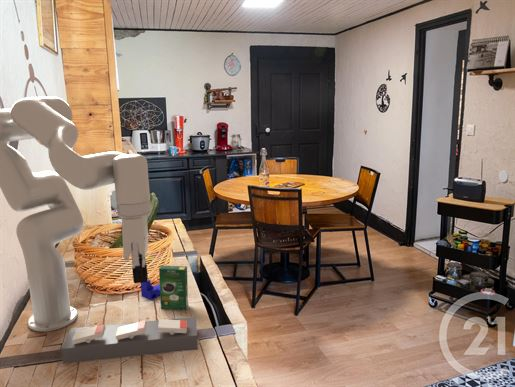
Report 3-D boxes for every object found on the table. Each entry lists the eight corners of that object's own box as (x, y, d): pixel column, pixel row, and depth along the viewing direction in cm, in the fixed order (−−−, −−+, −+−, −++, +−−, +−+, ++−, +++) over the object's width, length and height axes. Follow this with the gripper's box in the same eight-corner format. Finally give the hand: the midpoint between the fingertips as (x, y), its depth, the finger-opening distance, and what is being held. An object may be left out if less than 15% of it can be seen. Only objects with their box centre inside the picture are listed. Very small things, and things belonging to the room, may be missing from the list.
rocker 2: (119, 333, 109) (117, 326, 108) (147, 326, 110) (145, 319, 109) (117, 342, 105) (115, 335, 104) (146, 335, 106) (144, 328, 105)
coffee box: (189, 305, 130) (187, 265, 127) (187, 310, 127) (185, 269, 124) (163, 304, 130) (160, 264, 127) (160, 309, 128) (157, 268, 124)
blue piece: (150, 301, 133) (149, 283, 132) (141, 296, 136) (140, 279, 135) (179, 286, 143) (179, 270, 141) (170, 283, 145) (169, 266, 144)
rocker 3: (158, 325, 110) (159, 318, 110) (185, 326, 111) (186, 320, 111) (157, 333, 106) (158, 326, 106) (185, 335, 107) (186, 328, 107)
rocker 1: (77, 337, 107) (75, 330, 107) (106, 330, 108) (104, 323, 107) (74, 346, 103) (71, 339, 103) (103, 339, 104) (101, 332, 104)
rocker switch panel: (72, 342, 112) (70, 327, 111) (196, 330, 117) (196, 315, 116) (63, 363, 103) (60, 347, 102) (197, 349, 108) (197, 334, 107)
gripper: (121, 201, 106) (128, 270, 111) (112, 218, 92) (120, 297, 96) (153, 199, 108) (158, 267, 112) (148, 216, 93) (154, 293, 98)
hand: (140, 281), depth 104 cm, fingers closed
